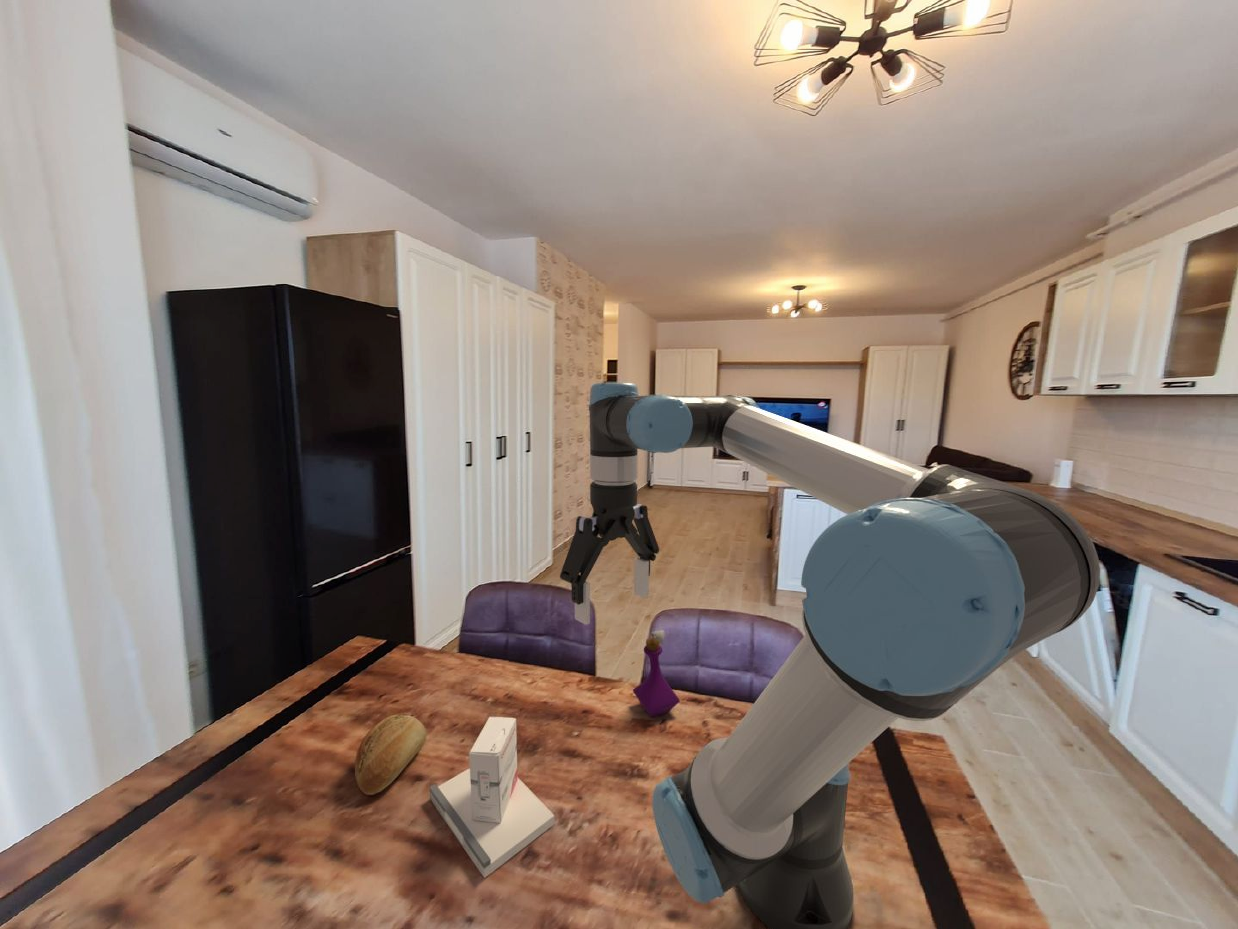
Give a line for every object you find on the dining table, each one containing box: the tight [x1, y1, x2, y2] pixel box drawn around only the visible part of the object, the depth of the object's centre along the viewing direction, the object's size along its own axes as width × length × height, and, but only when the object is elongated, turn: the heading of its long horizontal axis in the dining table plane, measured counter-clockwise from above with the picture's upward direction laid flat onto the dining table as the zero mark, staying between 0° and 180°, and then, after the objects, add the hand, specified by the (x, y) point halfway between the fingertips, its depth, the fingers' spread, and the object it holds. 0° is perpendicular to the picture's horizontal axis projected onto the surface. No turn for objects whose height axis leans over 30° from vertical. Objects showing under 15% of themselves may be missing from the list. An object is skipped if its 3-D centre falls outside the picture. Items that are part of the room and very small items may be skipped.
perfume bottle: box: [632, 629, 681, 718], centre depth 99 cm, size 8×8×18 cm
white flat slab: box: [429, 767, 555, 879], centre depth 76 cm, size 18×12×2 cm
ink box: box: [468, 716, 518, 823], centre depth 75 cm, size 9×5×12 cm, turn 174°
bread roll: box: [354, 714, 427, 796], centre depth 84 cm, size 10×15×8 cm, turn 173°
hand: (613, 607), depth 78 cm, fingers open, 13 cm apart
